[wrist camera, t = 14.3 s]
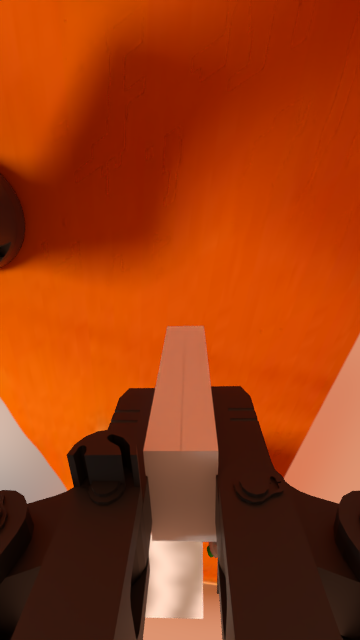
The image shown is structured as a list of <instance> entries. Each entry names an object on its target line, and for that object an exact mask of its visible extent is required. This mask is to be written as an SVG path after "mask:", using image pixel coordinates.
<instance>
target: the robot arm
mask: <svg viewBox="0 0 360 640" xmlns="http://www.w3.org/2000/svg"><path fill="white" fill-rule="evenodd" d="M24 232H25V222H24V215H23V211H22V207H21V204H20V202H19V200H18V197H17V195H16V194H15V192H14V190H13V188H12V187H11V186H10V184H9V183H8V182H7V180H6V179H5V178H4V177H3V176H2V175H1V174H0V267H2V266H4V265H6V264H8V263H9V262H10V261H11V260H12V259H13V258H14V257H15V256H16V255H17V253H18V252H19V250H20V248H21V245H22V243H23V239H24ZM67 458H68V462H69V467H70V471H71V476H72V480H73V484H74V487H73V488H72V489H70V490H68V491H67V492H64V493H62V494H59V495H56V496H53V497H49V498H46V499H43V500H39V501H36V502H33V503H29V504H27V503H26V500H25V498H24V496H23V495H21V494H20V493H18V492H17V491H10V490H2V491H0V640H143V631H144V621H145V613H146V604H147V595H148V585H149V576H150V562H149V547H150V538H151V532H152V541H194V542H217V551H218V577H217V594H219V597H220V612H221V624H222V639H223V640H360V491H352V492H350V493H348V494H346V495H344V496H343V497H342V499H341V501H340V503H339V504H337V503H334V502H331V501H327V500H324V499H320V498H317V497H313V496H310V495H308V494H305V493H303V492H300V491H298V490H297V489H295V488H293V487H292V486H290V485H289V484H288V483H287V482H285V480H284V479H283V477H282V476H281V475H280V474H279V473H278V472H277V471H276V470H275V469H274V467H273V464H272V462H271V459H270V456H269V453H268V450H267V447H266V444H265V441H264V437H263V434H262V431H261V428H260V425H259V422H258V421H257V416H256V413H255V411H254V406H253V403H252V400H251V397H250V396H249V395H248V394H247V393H246V392H245V390H244V389H243V388H242V387H241V386H221V387H211V383H210V375H209V366H208V358H207V349H206V341H205V332H204V326H168V327H167V331H166V336H165V341H164V346H163V352H162V357H161V362H160V367H159V372H158V377H157V382H156V388H130V389H129V390H127V391H126V392H125V393H124V394H123V395H122V396H121V397H120V398H119V401H118V404H117V406H116V409H115V413H114V414H113V417H112V420H111V423H110V425H109V428H108V430H105V431H98V432H96V433H93V434H91V435H88V436H86V437H84V438H83V439H82V440H80V441H79V442H78V443H76V444H75V445H74V446H73V447H72V449H71V450H70V451H69V453H68V454H67Z"/></svg>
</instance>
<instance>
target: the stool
mask: <svg viewBox="0 0 360 640" xmlns="http://www.w3.org/2000/svg"><path fill="white" fill-rule="evenodd" d="M149 562H150V576H149V585H148V595H147V604H146V613H145V617H153V618H192V619H195V618H196V619H203V542H194V541H152V532H151V538H150V547H149Z"/></svg>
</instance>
